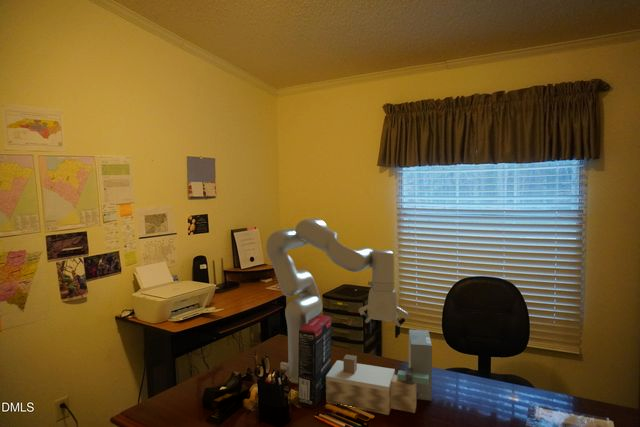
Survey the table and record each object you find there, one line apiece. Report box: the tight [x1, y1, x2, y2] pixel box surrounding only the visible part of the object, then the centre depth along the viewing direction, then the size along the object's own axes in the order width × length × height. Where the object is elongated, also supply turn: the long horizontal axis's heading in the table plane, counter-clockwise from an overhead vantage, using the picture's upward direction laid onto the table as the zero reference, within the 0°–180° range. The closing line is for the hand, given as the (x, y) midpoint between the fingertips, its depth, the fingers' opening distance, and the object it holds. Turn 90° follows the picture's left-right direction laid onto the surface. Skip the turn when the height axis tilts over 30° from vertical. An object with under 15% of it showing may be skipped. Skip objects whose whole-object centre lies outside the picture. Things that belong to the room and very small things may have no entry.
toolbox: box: [325, 367, 417, 416], centre depth 128 cm, size 30×13×13 cm, turn 69°
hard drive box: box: [408, 329, 433, 401], centre depth 135 cm, size 16×8×20 cm, turn 168°
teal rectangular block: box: [396, 369, 429, 385], centre depth 123 cm, size 10×3×2 cm, turn 69°
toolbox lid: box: [326, 353, 396, 391], centre depth 129 cm, size 22×13×6 cm, turn 69°
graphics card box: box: [297, 314, 332, 409], centre depth 132 cm, size 17×7×27 cm, turn 159°
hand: (383, 334), depth 126 cm, fingers open, 9 cm apart
